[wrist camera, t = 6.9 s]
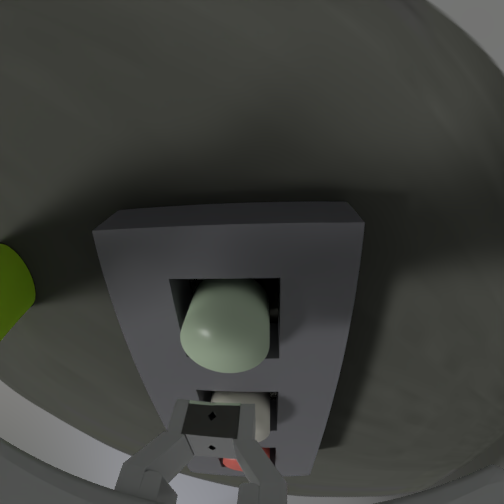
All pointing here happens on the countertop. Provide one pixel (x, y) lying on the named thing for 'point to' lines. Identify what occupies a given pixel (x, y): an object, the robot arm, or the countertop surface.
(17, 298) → the soap dispenser
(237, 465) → the button red
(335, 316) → the console
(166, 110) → the countertop surface
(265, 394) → the button cream
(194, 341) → the button sage
